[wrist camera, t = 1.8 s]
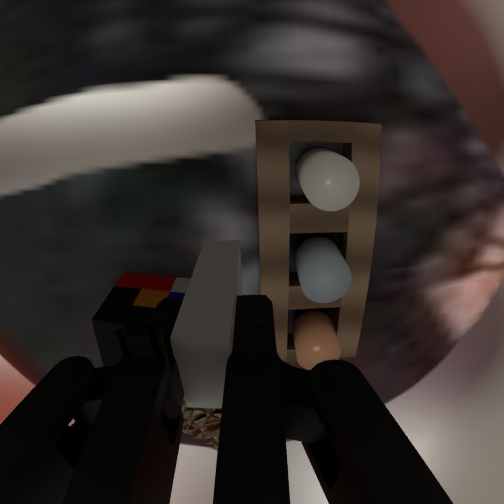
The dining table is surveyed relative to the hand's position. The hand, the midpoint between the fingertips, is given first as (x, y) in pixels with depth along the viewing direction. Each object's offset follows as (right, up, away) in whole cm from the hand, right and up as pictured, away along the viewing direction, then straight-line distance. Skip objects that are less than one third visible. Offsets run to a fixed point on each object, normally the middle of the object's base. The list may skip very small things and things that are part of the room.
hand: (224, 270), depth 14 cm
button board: (+8, +1, +22) cm, 23 cm away
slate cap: (+8, 0, +20) cm, 21 cm away
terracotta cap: (+8, -8, +23) cm, 26 cm away
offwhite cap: (+8, +8, +16) cm, 20 cm away
